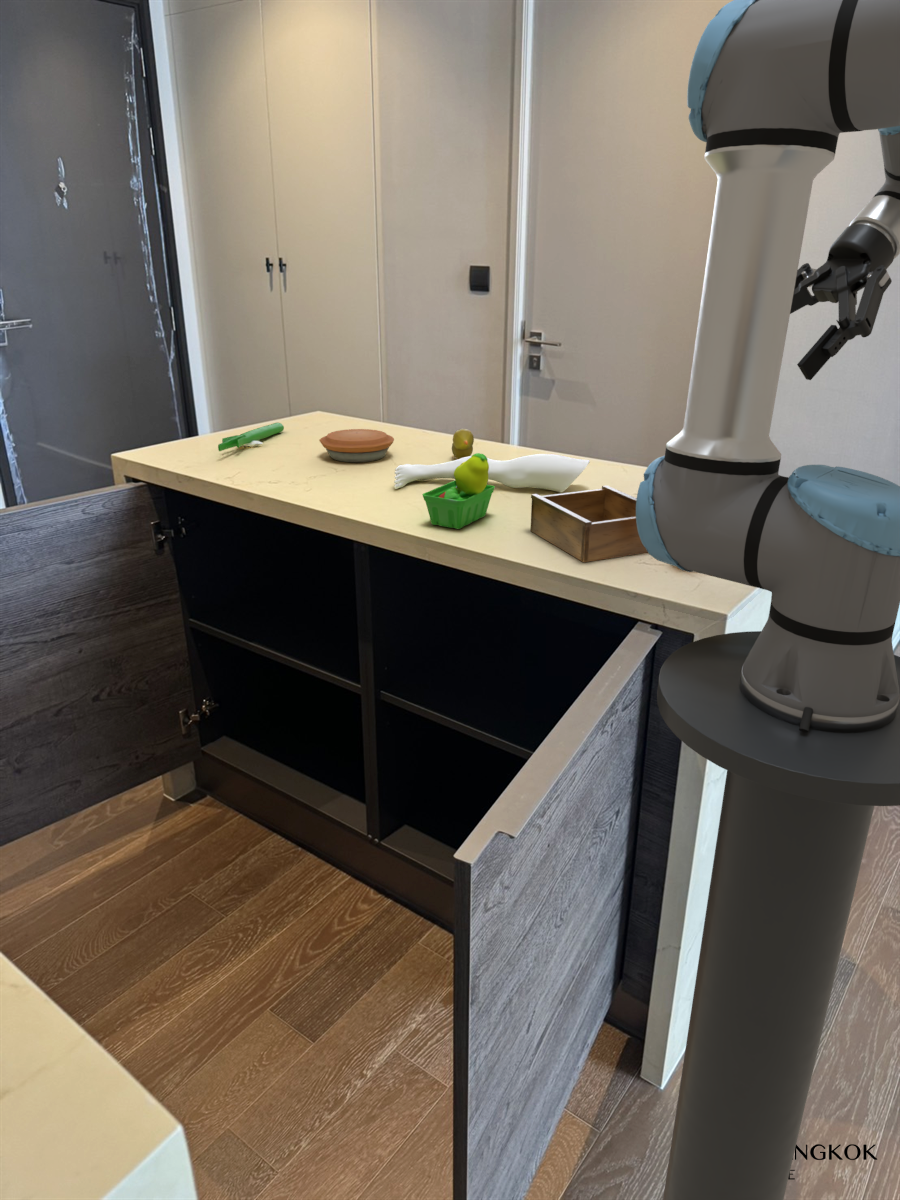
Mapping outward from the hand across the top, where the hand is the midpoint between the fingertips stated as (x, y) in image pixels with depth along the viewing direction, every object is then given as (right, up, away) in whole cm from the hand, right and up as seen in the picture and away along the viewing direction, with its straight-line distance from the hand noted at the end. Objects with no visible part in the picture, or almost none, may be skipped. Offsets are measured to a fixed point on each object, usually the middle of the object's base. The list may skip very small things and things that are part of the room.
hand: (764, 366), depth 113 cm
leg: (-34, -10, +45) cm, 57 cm away
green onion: (-85, +3, +77) cm, 115 cm away
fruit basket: (-39, -18, +26) cm, 51 cm away
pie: (-61, -1, +68) cm, 91 cm away
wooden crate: (-19, -22, +17) cm, 34 cm away
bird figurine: (-39, -2, +66) cm, 77 cm away
